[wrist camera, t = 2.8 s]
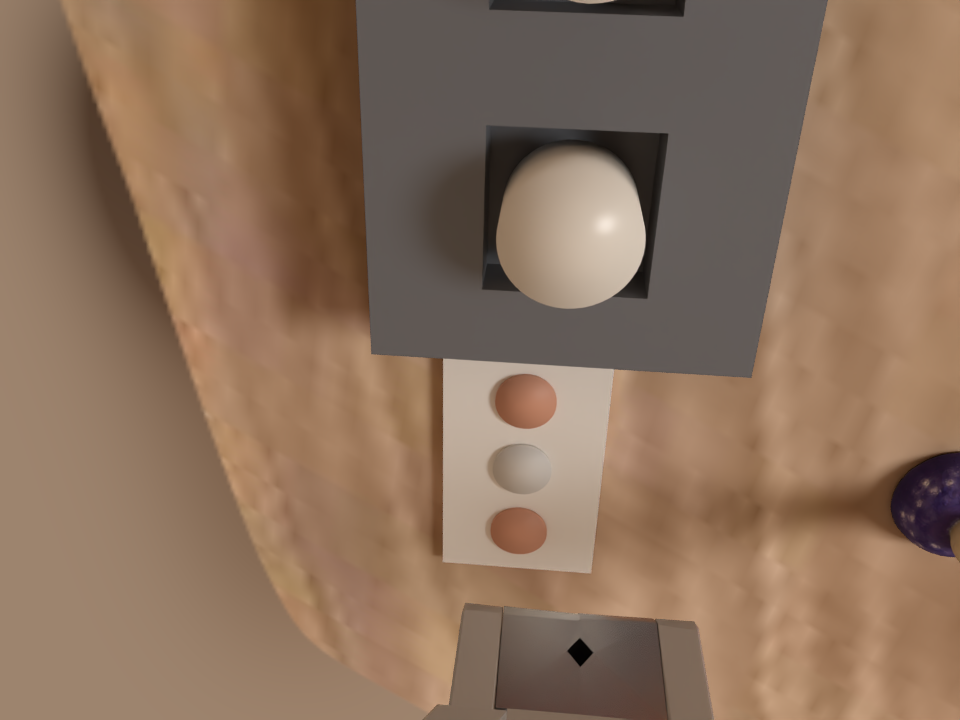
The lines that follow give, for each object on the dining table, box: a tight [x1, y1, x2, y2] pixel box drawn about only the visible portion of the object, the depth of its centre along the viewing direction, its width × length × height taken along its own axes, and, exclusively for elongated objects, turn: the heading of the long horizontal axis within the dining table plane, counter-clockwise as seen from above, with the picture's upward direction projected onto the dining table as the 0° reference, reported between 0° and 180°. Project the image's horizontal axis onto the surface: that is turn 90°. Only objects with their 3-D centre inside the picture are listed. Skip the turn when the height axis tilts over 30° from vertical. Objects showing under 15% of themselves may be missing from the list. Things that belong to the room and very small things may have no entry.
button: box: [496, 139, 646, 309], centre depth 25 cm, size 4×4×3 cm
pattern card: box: [443, 359, 614, 573], centre depth 33 cm, size 10×6×1 cm, turn 179°
